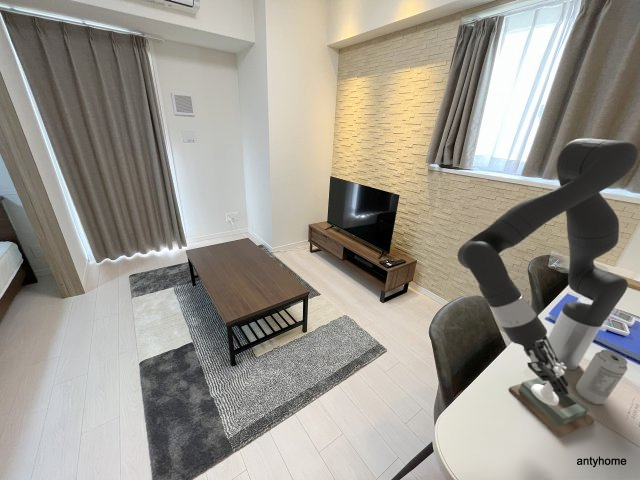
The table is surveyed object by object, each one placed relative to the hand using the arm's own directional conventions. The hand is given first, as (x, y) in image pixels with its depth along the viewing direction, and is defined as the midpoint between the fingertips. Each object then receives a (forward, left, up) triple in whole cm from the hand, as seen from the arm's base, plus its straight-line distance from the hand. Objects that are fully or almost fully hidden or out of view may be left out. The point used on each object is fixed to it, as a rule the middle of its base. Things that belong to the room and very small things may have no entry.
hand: (563, 389), depth 57 cm
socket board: (-11, -5, -16) cm, 20 cm away
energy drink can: (-26, -4, -16) cm, 31 cm away
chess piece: (+1, -2, -4) cm, 5 cm away
